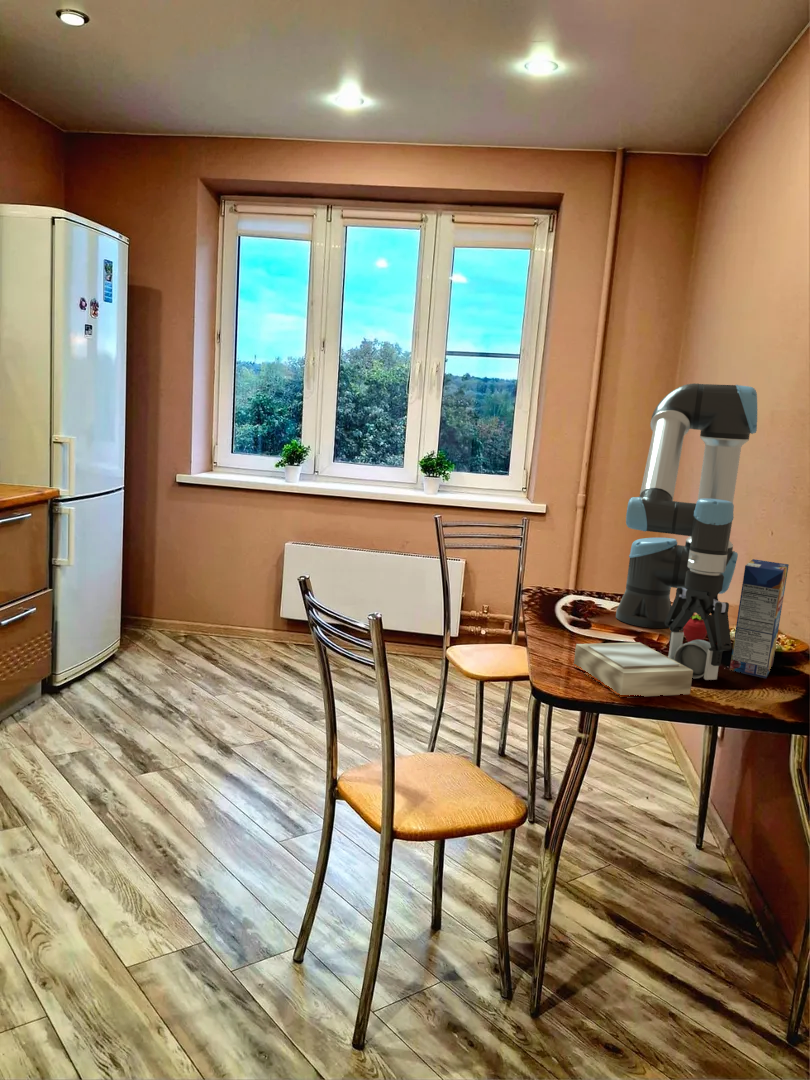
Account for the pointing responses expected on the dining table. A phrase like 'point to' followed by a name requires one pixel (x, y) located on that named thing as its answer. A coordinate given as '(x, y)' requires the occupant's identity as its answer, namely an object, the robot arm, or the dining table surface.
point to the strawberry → (695, 629)
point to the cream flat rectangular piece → (634, 669)
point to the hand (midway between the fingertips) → (691, 669)
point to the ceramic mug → (693, 656)
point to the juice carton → (758, 617)
